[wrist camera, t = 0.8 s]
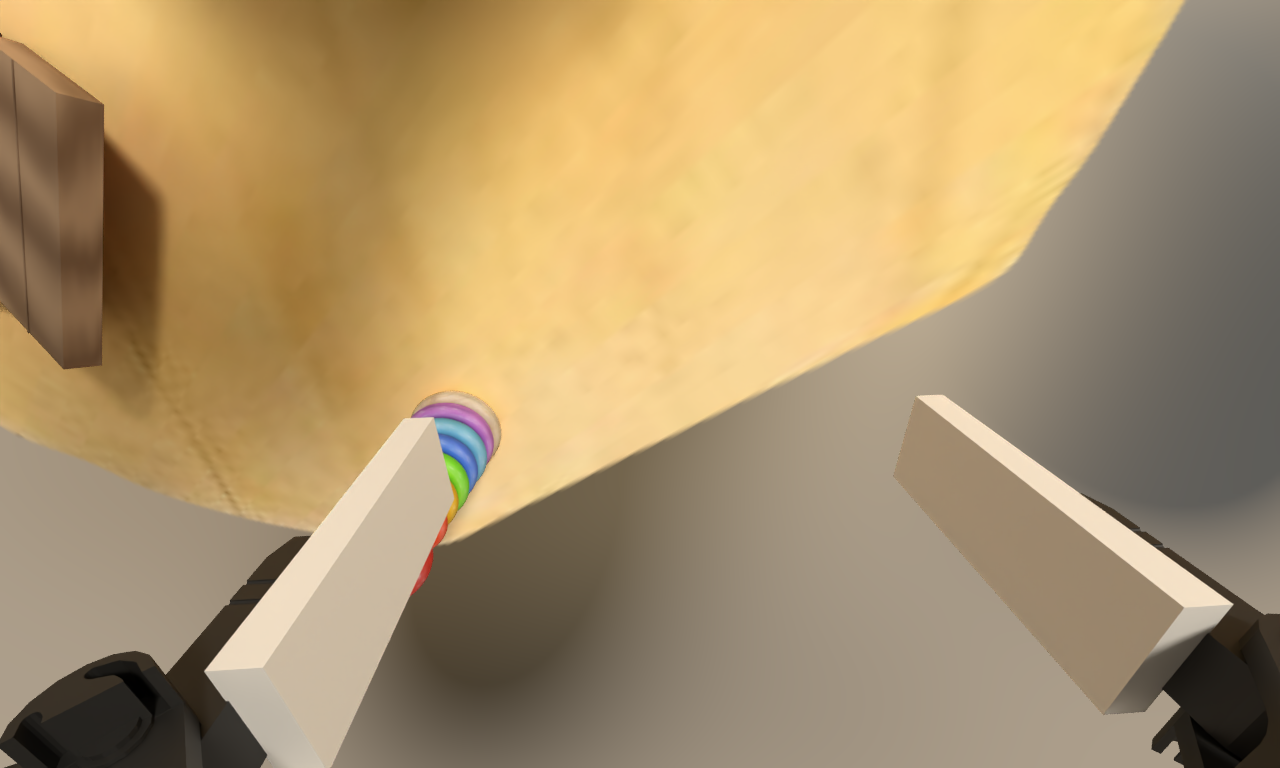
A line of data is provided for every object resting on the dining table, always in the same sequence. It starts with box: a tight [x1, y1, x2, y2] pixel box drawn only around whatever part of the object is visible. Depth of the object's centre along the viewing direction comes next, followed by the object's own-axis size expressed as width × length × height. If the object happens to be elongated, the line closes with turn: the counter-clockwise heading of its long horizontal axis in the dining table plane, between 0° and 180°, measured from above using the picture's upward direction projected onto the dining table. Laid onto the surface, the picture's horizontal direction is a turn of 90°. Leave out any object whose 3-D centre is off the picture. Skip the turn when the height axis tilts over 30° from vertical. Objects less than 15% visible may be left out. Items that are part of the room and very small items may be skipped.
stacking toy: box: [410, 391, 501, 596], centre depth 34 cm, size 8×8×19 cm
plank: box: [0, 37, 104, 369], centre depth 30 cm, size 18×10×2 cm
